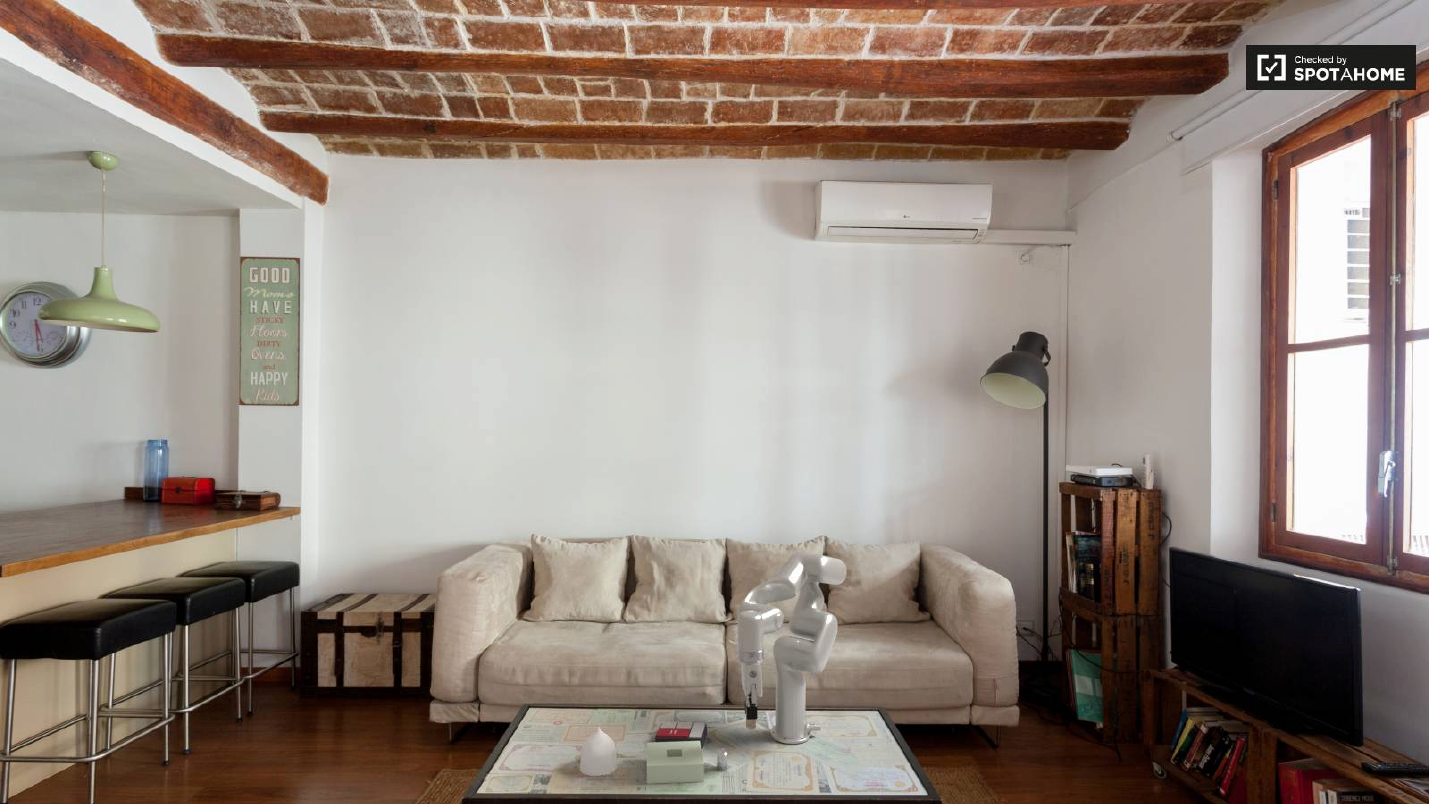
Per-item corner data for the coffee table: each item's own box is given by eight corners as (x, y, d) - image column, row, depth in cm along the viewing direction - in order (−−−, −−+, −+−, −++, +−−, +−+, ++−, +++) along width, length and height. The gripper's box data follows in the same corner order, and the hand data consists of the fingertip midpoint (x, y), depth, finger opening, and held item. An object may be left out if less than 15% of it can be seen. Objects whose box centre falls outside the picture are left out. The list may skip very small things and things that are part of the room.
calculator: (661, 720, 238) (707, 720, 236) (661, 733, 238) (707, 734, 236) (654, 735, 227) (701, 736, 225) (654, 749, 227) (702, 750, 225)
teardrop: (576, 761, 217) (576, 720, 217) (612, 755, 221) (613, 715, 221) (583, 779, 207) (583, 736, 207) (621, 772, 211) (621, 731, 211)
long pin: (755, 724, 216) (755, 687, 216) (756, 728, 213) (756, 691, 213) (745, 724, 216) (744, 687, 216) (746, 729, 213) (746, 692, 213)
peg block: (699, 757, 220) (700, 740, 220) (703, 781, 206) (703, 763, 206) (646, 759, 218) (646, 742, 218) (646, 784, 204) (646, 766, 204)
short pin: (726, 765, 215) (726, 748, 215) (727, 770, 212) (728, 753, 212) (716, 766, 215) (716, 749, 215) (717, 771, 212) (717, 754, 212)
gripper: (767, 664, 206) (768, 728, 207) (758, 644, 223) (759, 703, 223) (741, 665, 206) (742, 730, 206) (734, 645, 222) (734, 704, 223)
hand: (751, 715), depth 215 cm, fingers closed on long pin, 3 cm apart
